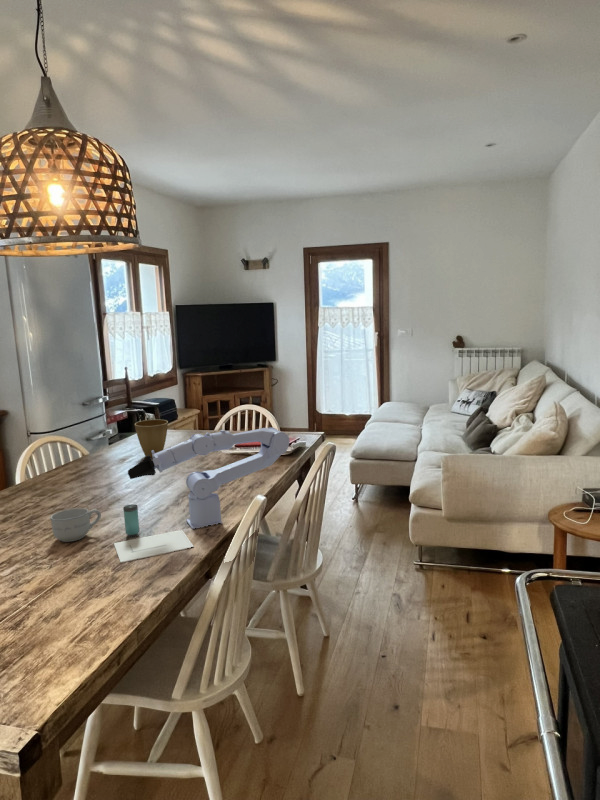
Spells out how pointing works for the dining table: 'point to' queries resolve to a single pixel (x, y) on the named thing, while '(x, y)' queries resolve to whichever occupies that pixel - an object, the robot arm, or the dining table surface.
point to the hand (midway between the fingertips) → (129, 475)
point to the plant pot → (151, 435)
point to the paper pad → (152, 546)
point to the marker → (131, 520)
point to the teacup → (73, 523)
